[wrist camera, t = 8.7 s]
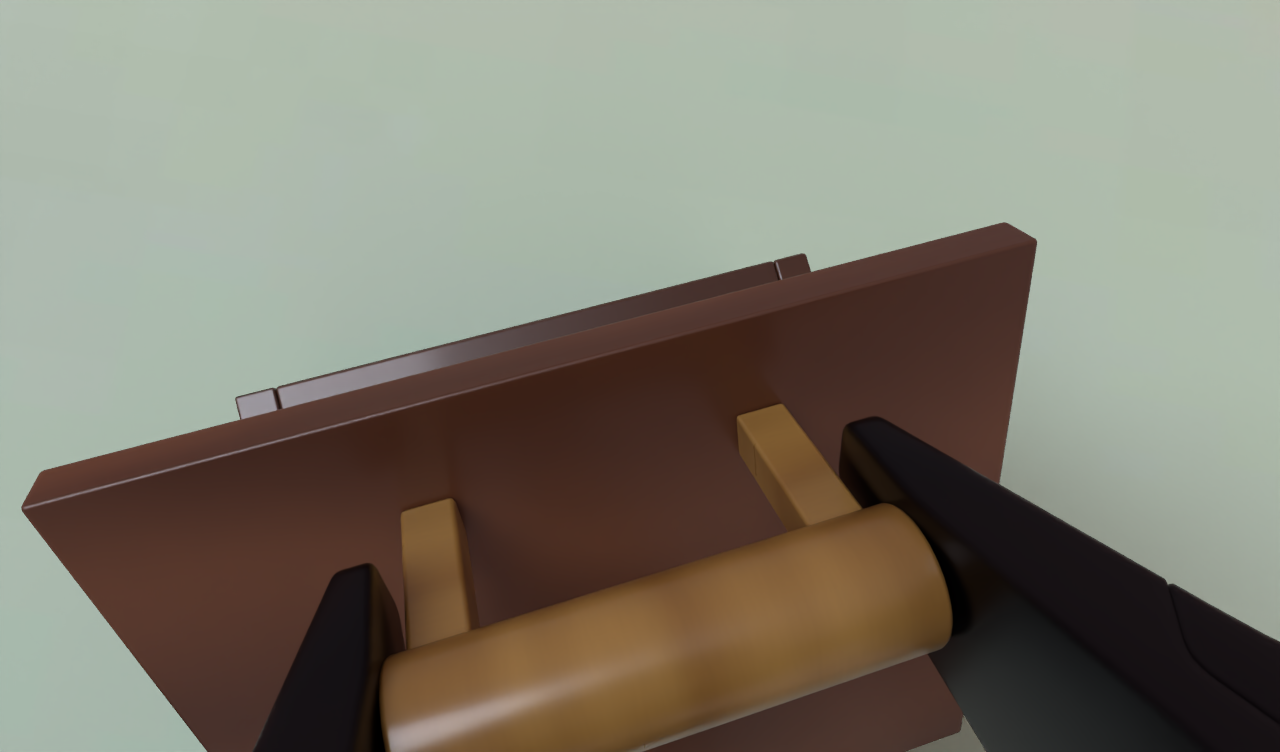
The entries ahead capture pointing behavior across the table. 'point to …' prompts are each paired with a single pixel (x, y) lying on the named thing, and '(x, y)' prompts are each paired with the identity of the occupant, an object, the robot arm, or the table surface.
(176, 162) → the table surface
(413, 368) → the wallet box
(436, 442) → the box lid
